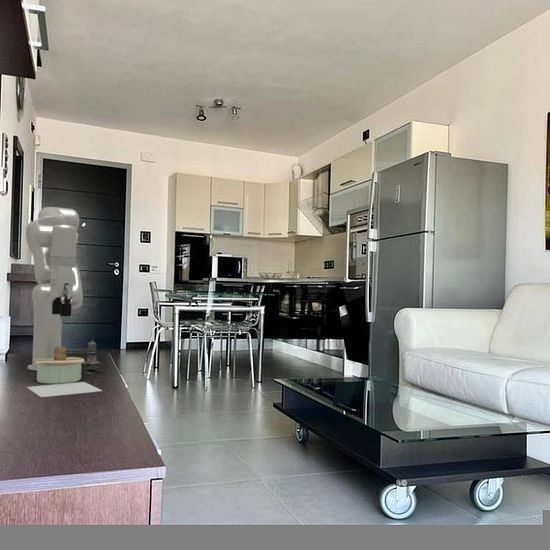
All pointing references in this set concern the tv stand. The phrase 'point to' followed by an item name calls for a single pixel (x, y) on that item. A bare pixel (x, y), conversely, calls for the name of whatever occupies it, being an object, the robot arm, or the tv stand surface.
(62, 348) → the lid
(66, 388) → the mat
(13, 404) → the tv stand surface
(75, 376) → the bowl
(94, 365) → the salt shaker
